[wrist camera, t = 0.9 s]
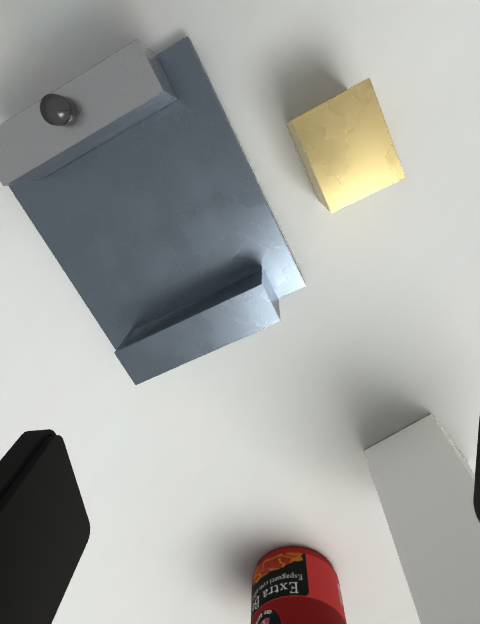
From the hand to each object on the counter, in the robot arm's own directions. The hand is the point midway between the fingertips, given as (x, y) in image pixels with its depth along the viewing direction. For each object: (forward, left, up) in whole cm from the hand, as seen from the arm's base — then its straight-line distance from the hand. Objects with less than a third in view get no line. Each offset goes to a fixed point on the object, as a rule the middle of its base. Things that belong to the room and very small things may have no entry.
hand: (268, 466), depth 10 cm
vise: (+5, -5, -21) cm, 22 cm away
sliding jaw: (+5, -12, -20) cm, 24 cm away
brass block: (-7, -4, -21) cm, 22 cm away
